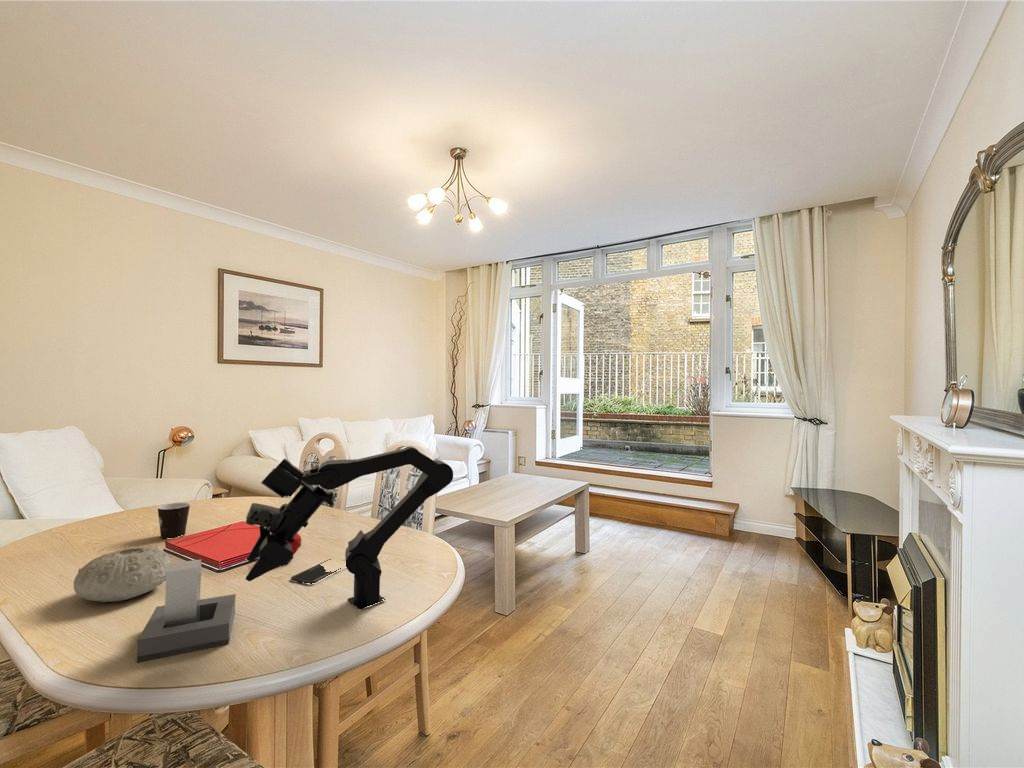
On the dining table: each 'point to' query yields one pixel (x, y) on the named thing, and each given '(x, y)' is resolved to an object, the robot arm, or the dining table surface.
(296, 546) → the strawberry
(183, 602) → the steel block
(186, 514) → the coffee mug
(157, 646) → the cradle
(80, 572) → the decorative shell
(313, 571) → the phone
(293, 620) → the dining table surface
